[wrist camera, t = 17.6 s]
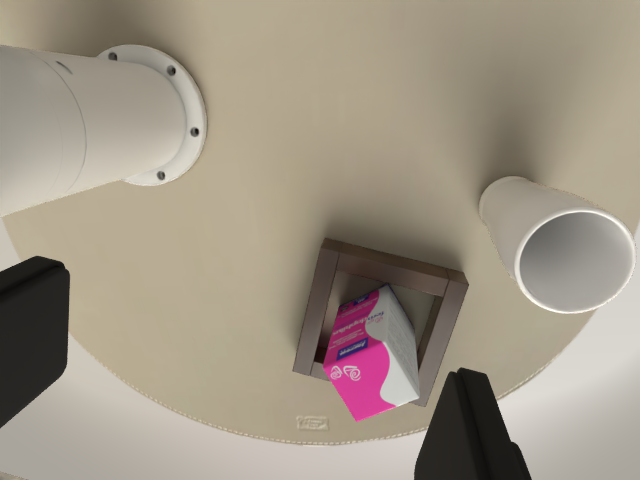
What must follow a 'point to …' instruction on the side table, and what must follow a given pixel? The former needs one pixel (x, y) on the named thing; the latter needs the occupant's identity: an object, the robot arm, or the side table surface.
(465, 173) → the side table surface
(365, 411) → the supplement box
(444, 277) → the socket
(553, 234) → the drinking glass
